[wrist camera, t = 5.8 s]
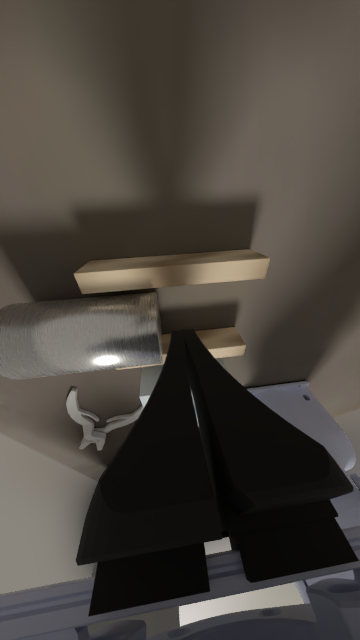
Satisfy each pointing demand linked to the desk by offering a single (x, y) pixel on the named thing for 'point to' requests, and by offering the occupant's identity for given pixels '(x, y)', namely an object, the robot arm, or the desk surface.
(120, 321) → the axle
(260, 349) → the desk surface
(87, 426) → the pliers
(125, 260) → the wooden rails
